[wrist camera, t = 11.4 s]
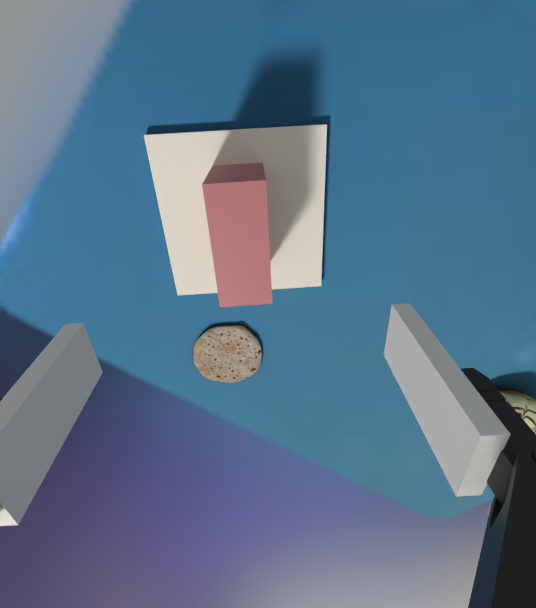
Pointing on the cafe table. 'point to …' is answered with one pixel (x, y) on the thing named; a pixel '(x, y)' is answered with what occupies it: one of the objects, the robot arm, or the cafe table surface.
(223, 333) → the flatbread
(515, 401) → the decorated donut
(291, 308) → the cafe table surface
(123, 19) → the cafe table surface
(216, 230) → the card deck box
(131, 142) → the cafe table surface
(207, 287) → the serving mat
